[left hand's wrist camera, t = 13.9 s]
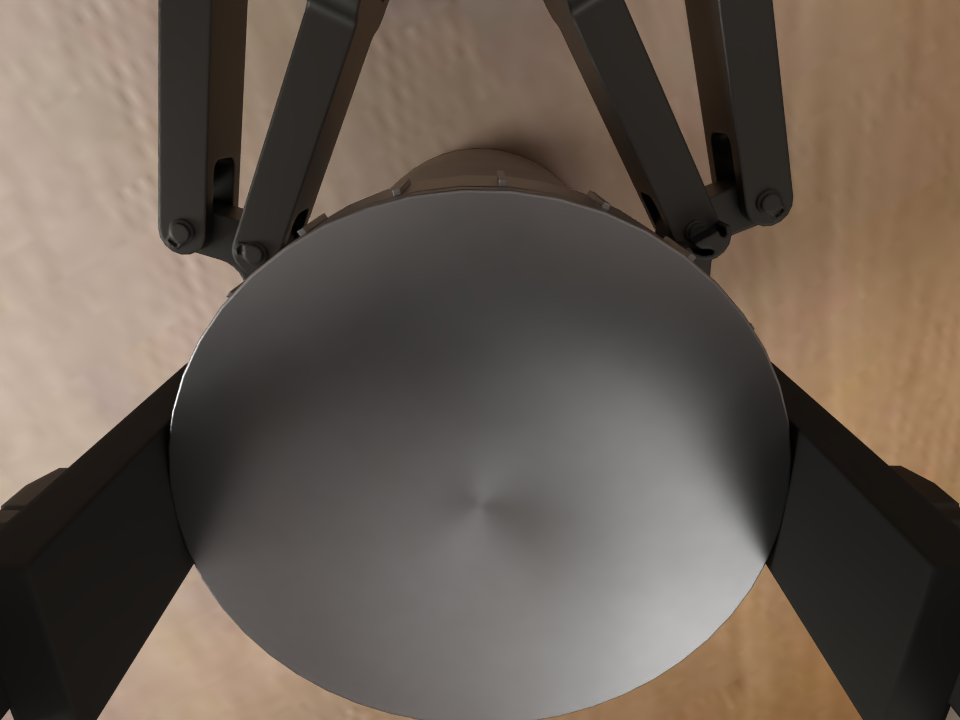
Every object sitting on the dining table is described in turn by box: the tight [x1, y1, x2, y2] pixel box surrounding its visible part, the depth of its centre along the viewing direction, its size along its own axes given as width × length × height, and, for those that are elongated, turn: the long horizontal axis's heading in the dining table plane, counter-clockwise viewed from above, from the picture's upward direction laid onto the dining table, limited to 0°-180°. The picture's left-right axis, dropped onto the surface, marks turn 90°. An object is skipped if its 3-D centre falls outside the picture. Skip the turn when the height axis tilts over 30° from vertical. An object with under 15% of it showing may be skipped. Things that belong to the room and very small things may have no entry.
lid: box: [168, 170, 791, 720], centre depth 11 cm, size 10×10×2 cm
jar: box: [390, 149, 569, 189], centre depth 18 cm, size 9×9×16 cm
